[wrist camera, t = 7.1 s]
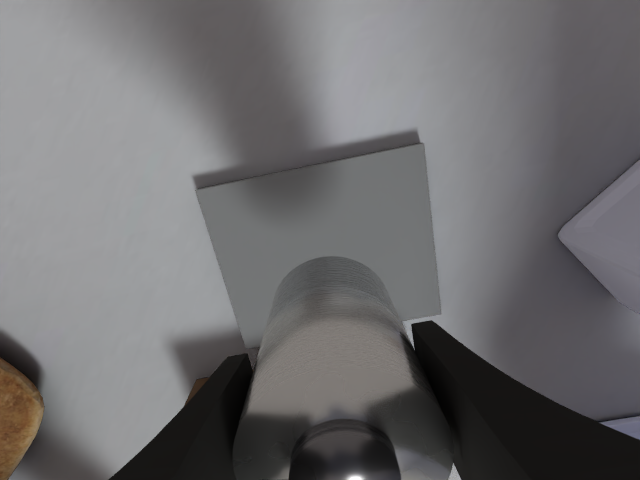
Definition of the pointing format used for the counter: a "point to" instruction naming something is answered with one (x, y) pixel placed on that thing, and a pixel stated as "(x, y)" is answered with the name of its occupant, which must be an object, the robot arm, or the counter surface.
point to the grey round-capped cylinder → (339, 386)
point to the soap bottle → (611, 237)
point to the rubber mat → (326, 230)
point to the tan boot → (17, 417)
